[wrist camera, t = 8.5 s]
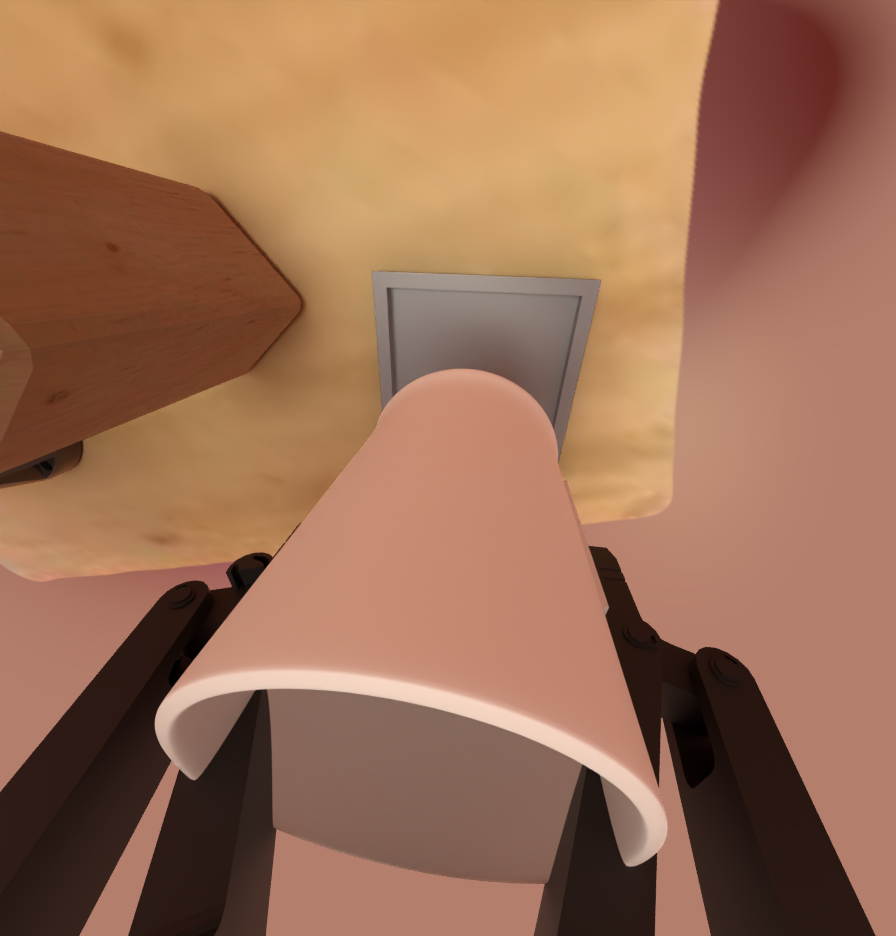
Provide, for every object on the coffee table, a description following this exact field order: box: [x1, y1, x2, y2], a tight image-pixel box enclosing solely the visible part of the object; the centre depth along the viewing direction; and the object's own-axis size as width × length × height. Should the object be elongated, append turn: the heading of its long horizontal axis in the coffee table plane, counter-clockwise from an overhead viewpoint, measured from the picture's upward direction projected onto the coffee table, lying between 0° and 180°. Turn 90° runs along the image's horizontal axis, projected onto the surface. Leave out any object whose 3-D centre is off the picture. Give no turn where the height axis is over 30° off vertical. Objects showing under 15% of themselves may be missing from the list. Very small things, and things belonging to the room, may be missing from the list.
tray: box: [372, 271, 601, 462], centre depth 29 cm, size 16×18×2 cm
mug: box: [155, 369, 668, 884], centre depth 11 cm, size 12×8×12 cm
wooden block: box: [0, 131, 302, 473], centre depth 19 cm, size 10×10×20 cm
